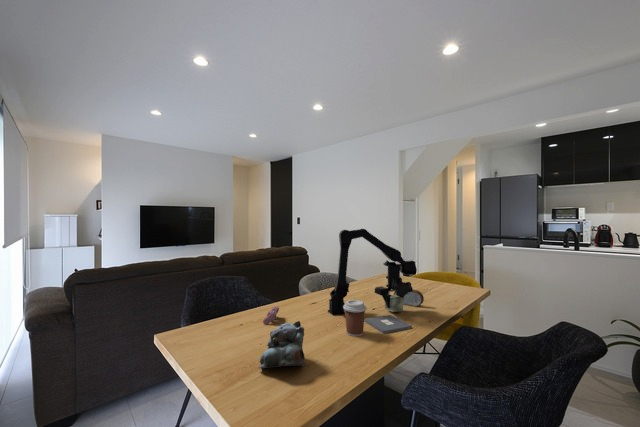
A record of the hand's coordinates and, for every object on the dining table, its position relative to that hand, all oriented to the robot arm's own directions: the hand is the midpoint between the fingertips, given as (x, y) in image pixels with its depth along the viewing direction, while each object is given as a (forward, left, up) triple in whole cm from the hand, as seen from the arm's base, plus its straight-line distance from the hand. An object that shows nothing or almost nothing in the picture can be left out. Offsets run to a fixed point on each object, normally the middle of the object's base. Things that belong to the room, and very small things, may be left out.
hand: (393, 307), depth 132 cm
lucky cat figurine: (-63, -26, -2) cm, 68 cm away
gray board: (-13, -12, -2) cm, 18 cm away
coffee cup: (-30, -14, -2) cm, 33 cm away
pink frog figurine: (-57, +12, -3) cm, 58 cm away
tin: (+14, +6, -2) cm, 15 cm away
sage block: (0, 0, -1) cm, 1 cm away
